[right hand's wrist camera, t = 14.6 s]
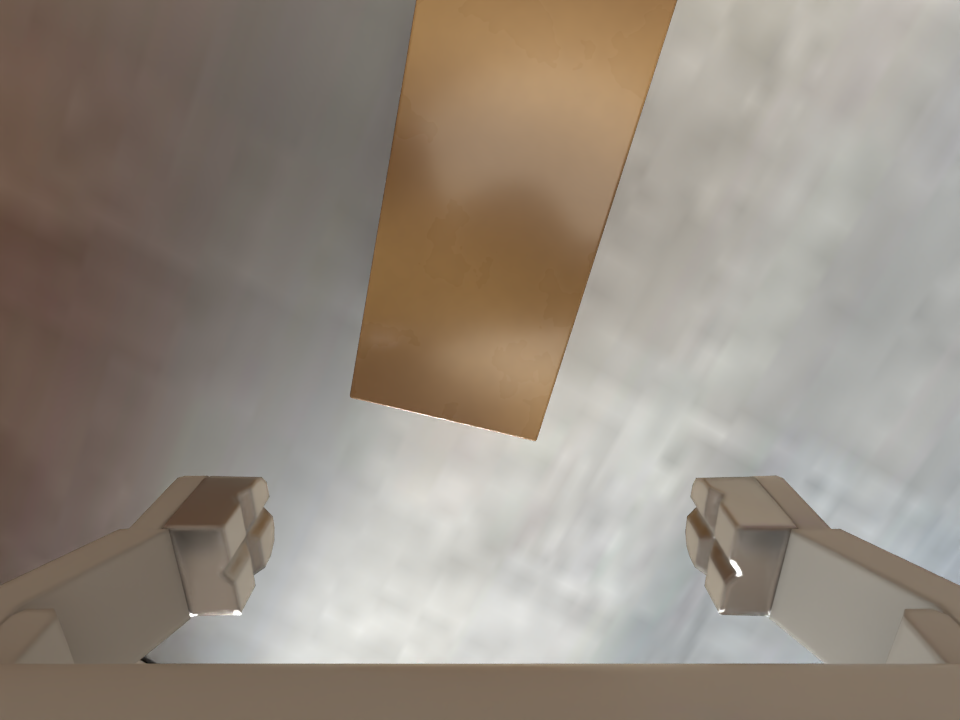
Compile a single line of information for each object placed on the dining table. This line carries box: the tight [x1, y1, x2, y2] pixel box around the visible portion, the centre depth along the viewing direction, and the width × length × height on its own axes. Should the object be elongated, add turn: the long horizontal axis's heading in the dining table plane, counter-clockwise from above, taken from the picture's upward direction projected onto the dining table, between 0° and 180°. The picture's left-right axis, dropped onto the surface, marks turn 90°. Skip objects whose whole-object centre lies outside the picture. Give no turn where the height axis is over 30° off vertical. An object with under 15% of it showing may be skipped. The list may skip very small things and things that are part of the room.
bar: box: [350, 0, 677, 441], centre depth 16 cm, size 23×6×9 cm, turn 167°
